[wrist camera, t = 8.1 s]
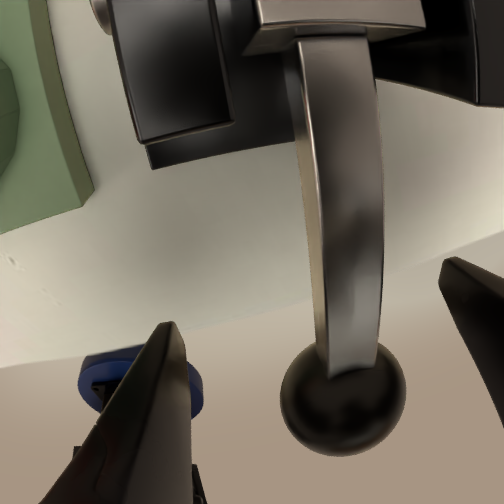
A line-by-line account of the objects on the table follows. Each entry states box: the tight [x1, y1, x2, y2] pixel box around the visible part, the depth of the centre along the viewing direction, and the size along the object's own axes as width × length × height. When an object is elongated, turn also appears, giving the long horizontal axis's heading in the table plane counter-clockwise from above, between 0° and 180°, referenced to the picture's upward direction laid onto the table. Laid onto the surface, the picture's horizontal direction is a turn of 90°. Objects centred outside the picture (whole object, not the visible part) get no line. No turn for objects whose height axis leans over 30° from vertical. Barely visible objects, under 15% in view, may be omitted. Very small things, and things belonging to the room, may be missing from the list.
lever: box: [229, 0, 427, 457], centre depth 5 cm, size 12×3×3 cm, turn 9°
